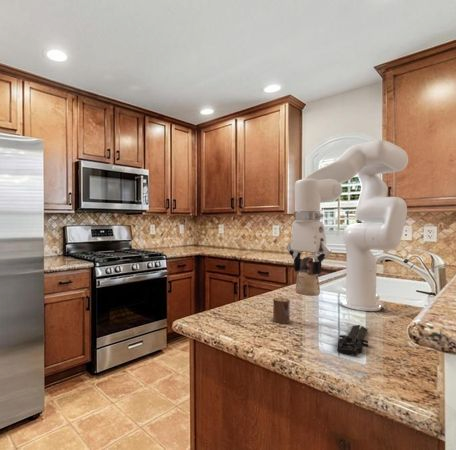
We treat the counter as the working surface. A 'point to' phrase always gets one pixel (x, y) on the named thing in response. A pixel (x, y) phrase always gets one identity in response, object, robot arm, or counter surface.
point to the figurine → (307, 279)
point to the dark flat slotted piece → (356, 346)
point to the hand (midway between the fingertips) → (307, 271)
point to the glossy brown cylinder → (281, 310)
